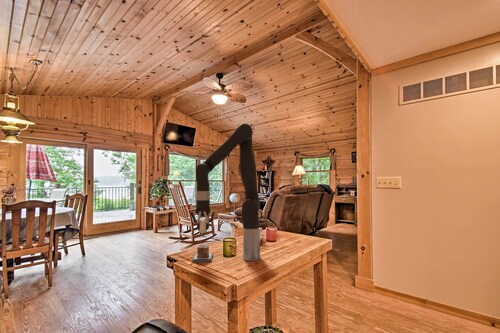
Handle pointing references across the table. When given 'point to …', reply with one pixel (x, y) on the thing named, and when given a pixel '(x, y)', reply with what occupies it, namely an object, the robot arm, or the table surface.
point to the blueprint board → (202, 258)
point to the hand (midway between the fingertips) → (203, 229)
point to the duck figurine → (261, 233)
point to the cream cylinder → (202, 226)
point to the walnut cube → (202, 251)
